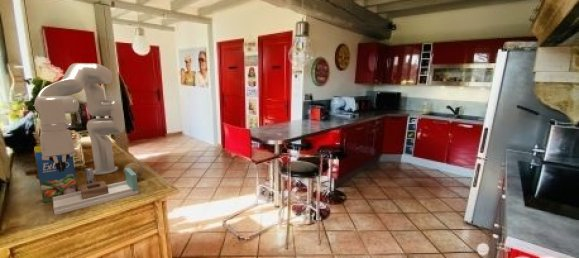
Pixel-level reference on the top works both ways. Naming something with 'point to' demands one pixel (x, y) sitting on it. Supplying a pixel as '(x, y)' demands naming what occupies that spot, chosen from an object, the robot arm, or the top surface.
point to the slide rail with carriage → (115, 192)
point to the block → (94, 189)
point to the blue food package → (55, 177)
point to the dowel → (89, 175)
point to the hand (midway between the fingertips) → (61, 171)
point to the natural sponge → (134, 168)
